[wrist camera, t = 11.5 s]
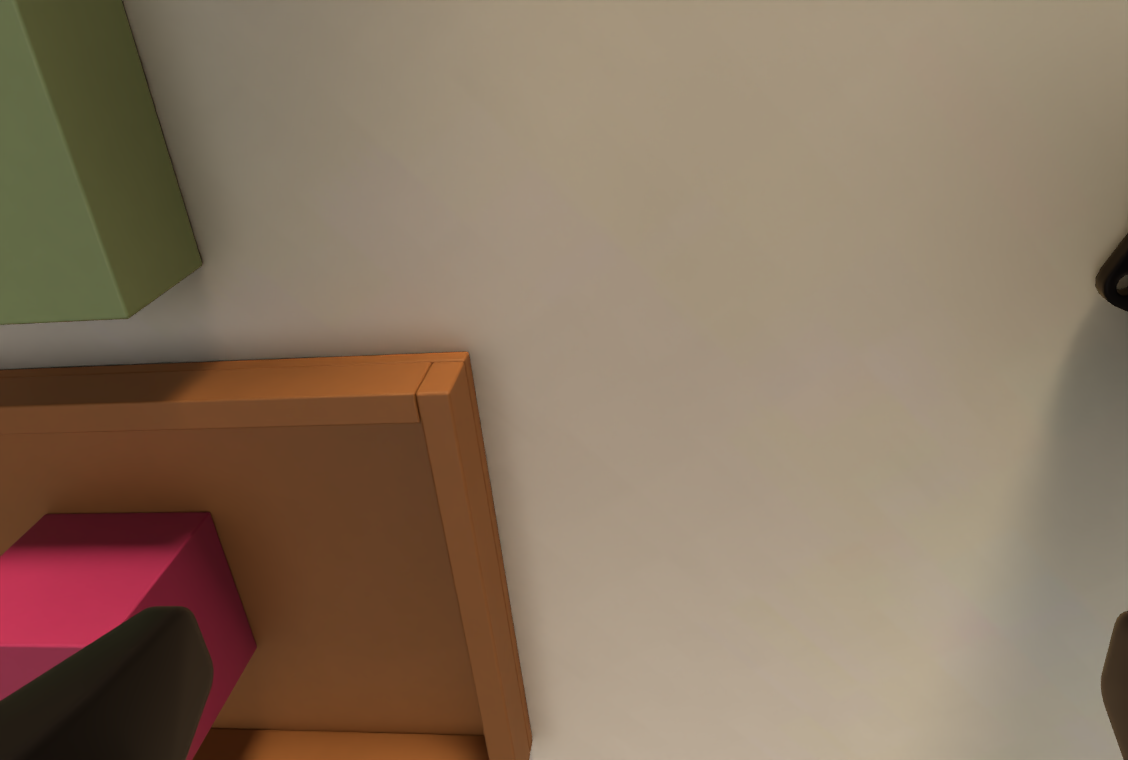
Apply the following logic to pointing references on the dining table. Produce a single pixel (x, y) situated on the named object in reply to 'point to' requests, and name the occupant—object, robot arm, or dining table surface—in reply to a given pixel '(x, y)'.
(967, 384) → the dining table surface
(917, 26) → the dining table surface
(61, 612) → the mulberry block
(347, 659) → the tray
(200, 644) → the robot arm
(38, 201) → the green rectangular block
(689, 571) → the dining table surface
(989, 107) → the dining table surface
